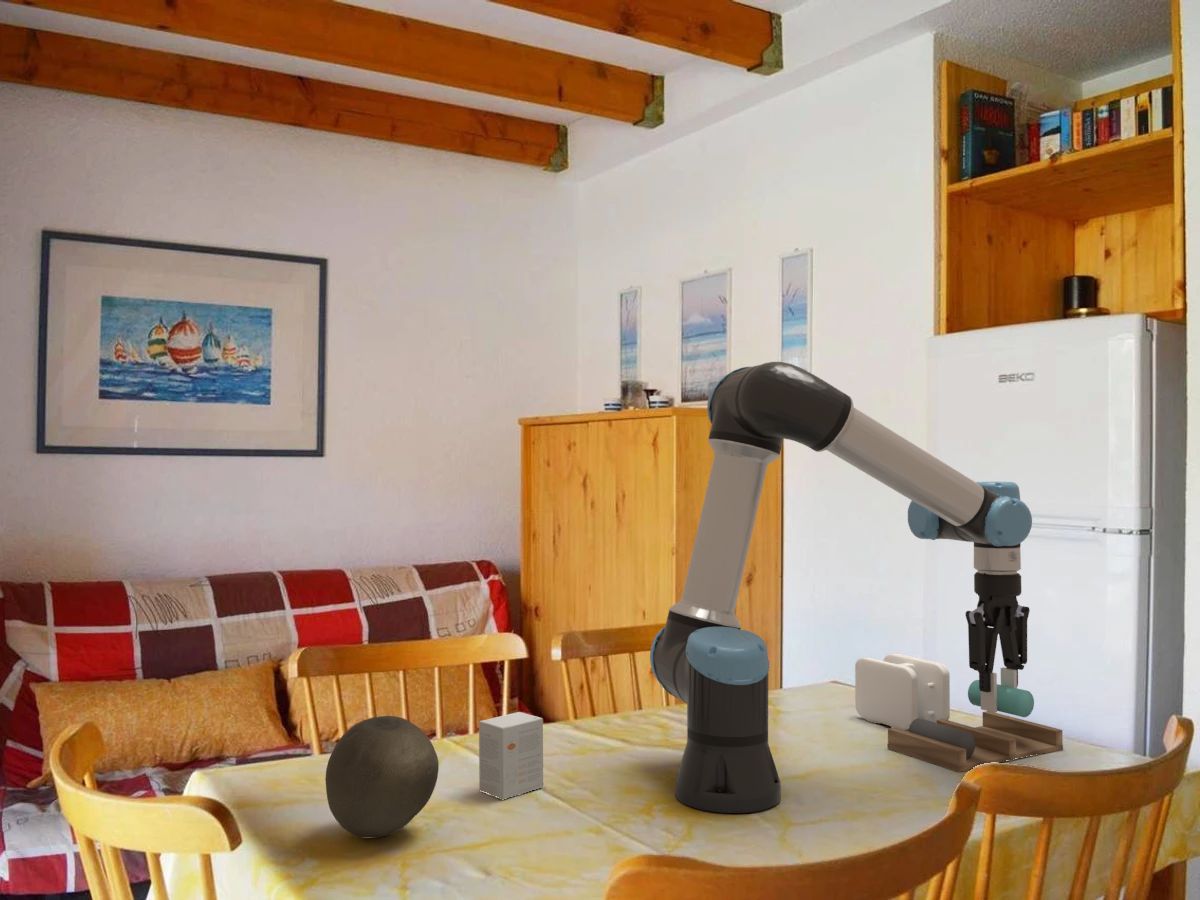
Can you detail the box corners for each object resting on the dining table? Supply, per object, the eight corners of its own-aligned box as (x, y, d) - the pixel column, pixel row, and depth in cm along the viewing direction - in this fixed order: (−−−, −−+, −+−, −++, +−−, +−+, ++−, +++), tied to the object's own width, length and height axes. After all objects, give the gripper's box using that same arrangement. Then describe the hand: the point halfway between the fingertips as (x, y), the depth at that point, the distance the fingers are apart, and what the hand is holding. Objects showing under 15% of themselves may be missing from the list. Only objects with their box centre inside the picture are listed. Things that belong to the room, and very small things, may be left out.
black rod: (929, 738, 172) (911, 748, 170) (924, 714, 172) (906, 724, 169) (977, 753, 163) (958, 764, 161) (972, 727, 163) (953, 738, 161)
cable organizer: (851, 717, 193) (850, 655, 193) (891, 710, 198) (891, 650, 198) (911, 735, 180) (910, 669, 180) (953, 728, 185) (952, 663, 185)
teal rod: (964, 700, 177) (972, 676, 178) (980, 709, 178) (988, 685, 179) (1013, 711, 168) (1020, 686, 169) (1029, 721, 170) (1037, 696, 171)
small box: (519, 780, 155) (519, 710, 155) (544, 788, 151) (544, 717, 151) (477, 792, 149) (477, 720, 149) (502, 801, 145) (502, 727, 145)
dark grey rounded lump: (335, 863, 123) (335, 738, 123) (318, 824, 136) (318, 711, 136) (449, 845, 128) (449, 725, 129) (422, 810, 141) (422, 701, 142)
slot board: (958, 772, 158) (958, 750, 158) (887, 748, 171) (887, 728, 171) (1062, 749, 170) (1062, 729, 171) (989, 729, 184) (989, 710, 184)
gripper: (980, 577, 167) (982, 720, 166) (1050, 570, 175) (1051, 706, 175) (944, 572, 173) (945, 710, 173) (1013, 566, 182) (1014, 698, 181)
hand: (999, 708), depth 174 cm, fingers closed on teal rod, 4 cm apart
